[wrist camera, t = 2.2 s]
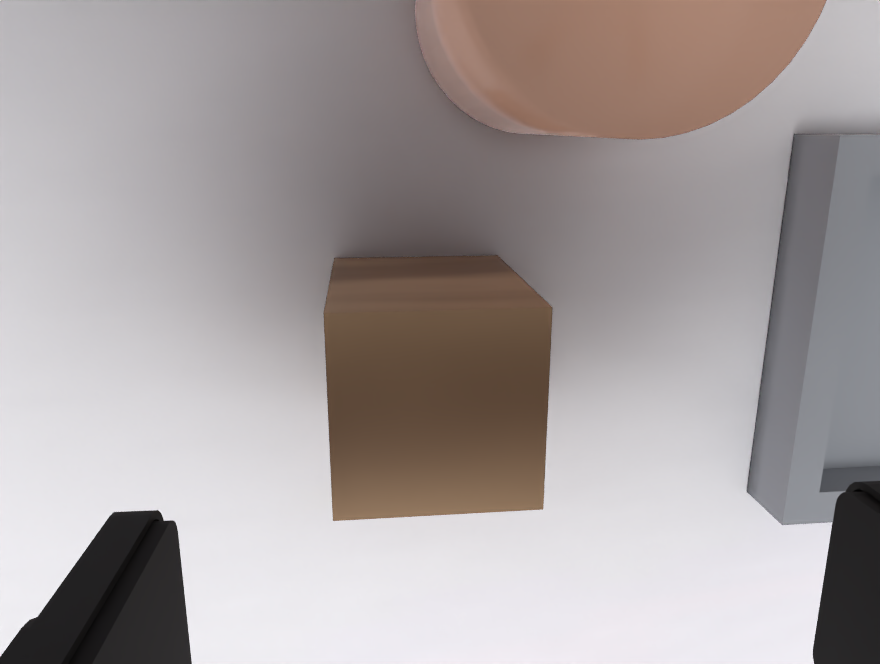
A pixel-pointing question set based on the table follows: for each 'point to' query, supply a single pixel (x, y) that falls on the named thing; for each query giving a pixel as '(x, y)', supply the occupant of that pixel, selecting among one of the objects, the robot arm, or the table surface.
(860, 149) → the tray
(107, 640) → the robot arm
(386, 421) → the walnut block
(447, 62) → the peach round domed cylinder
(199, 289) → the table surface
